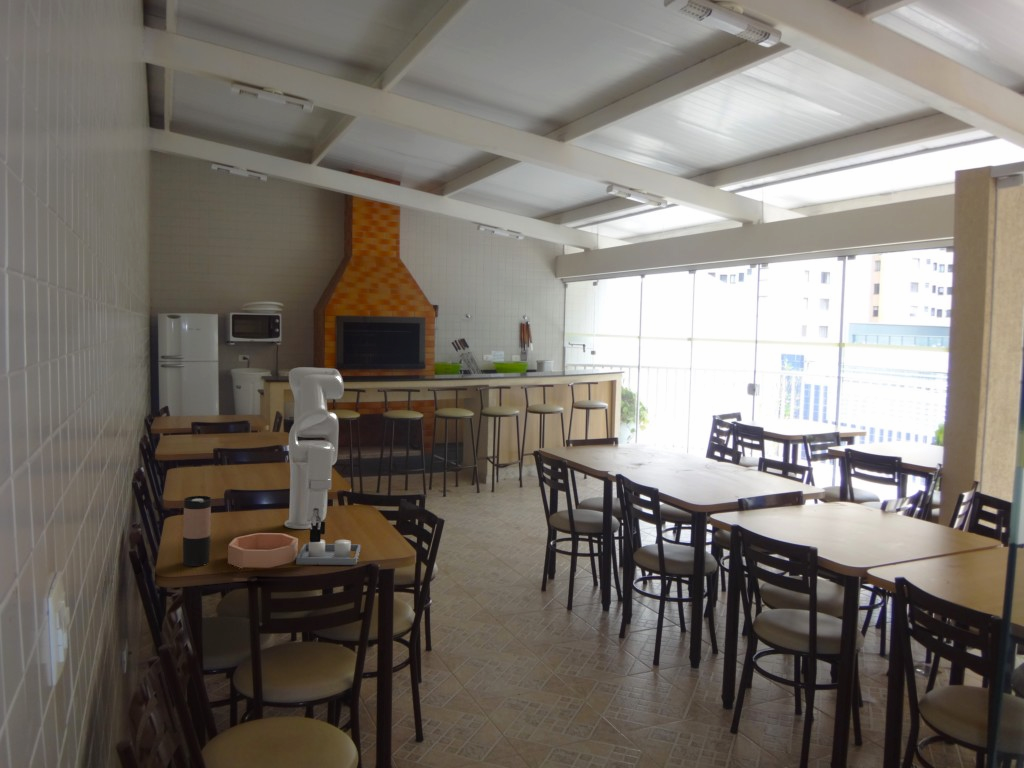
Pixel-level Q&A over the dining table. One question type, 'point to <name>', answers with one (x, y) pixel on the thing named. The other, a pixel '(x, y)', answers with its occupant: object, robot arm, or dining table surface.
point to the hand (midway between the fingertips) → (317, 537)
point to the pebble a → (317, 549)
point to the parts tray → (326, 556)
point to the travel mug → (196, 530)
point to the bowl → (262, 550)
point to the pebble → (342, 549)
